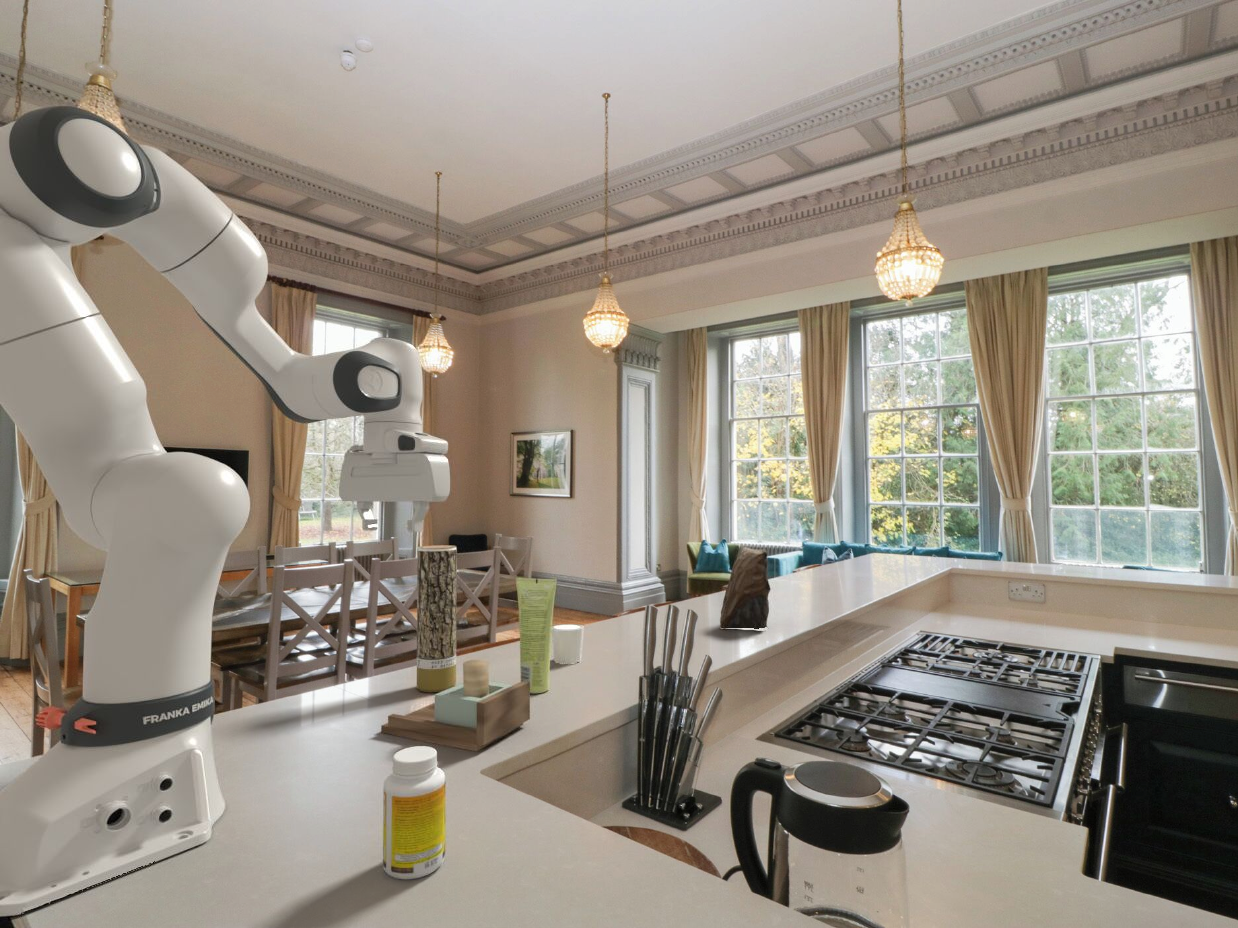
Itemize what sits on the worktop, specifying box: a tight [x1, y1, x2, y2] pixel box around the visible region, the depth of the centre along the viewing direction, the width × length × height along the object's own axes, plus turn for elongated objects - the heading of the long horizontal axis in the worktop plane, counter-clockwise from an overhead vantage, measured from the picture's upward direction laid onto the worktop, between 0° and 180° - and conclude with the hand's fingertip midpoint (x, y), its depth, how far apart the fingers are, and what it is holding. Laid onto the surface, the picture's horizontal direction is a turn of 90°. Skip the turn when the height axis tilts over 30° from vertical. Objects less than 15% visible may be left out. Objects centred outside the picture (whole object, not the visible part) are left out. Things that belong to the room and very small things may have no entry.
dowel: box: [462, 659, 490, 698], centre depth 96 cm, size 4×4×9 cm
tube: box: [515, 577, 558, 694], centre depth 116 cm, size 6×5×20 cm
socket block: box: [434, 681, 514, 729], centre depth 96 cm, size 8×8×5 cm
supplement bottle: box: [382, 745, 446, 880], centre depth 62 cm, size 6×6×10 cm
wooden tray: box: [380, 680, 531, 752], centre depth 97 cm, size 11×18×6 cm, turn 65°
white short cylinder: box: [551, 623, 585, 665], centre depth 136 cm, size 7×7×7 cm
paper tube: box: [416, 544, 458, 693], centre depth 118 cm, size 7×7×25 cm
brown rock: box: [719, 546, 771, 629], centre depth 169 cm, size 13×13×20 cm
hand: (391, 531), depth 104 cm, fingers open, 8 cm apart
